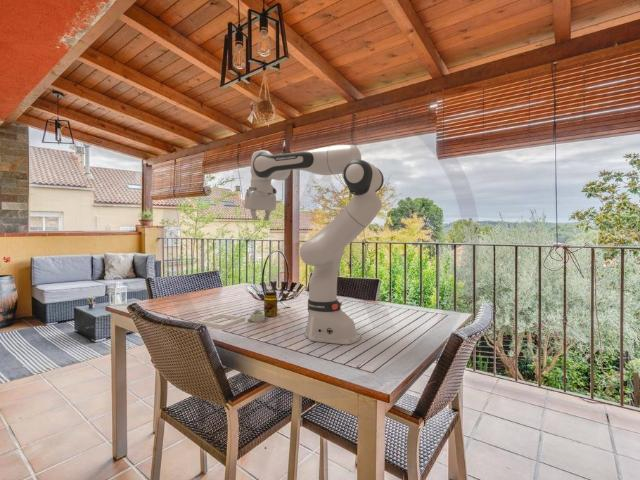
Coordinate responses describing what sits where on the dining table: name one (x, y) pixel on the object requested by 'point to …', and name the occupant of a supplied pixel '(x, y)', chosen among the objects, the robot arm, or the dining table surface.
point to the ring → (257, 317)
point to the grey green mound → (257, 312)
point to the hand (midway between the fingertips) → (260, 220)
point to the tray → (221, 326)
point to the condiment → (270, 304)
